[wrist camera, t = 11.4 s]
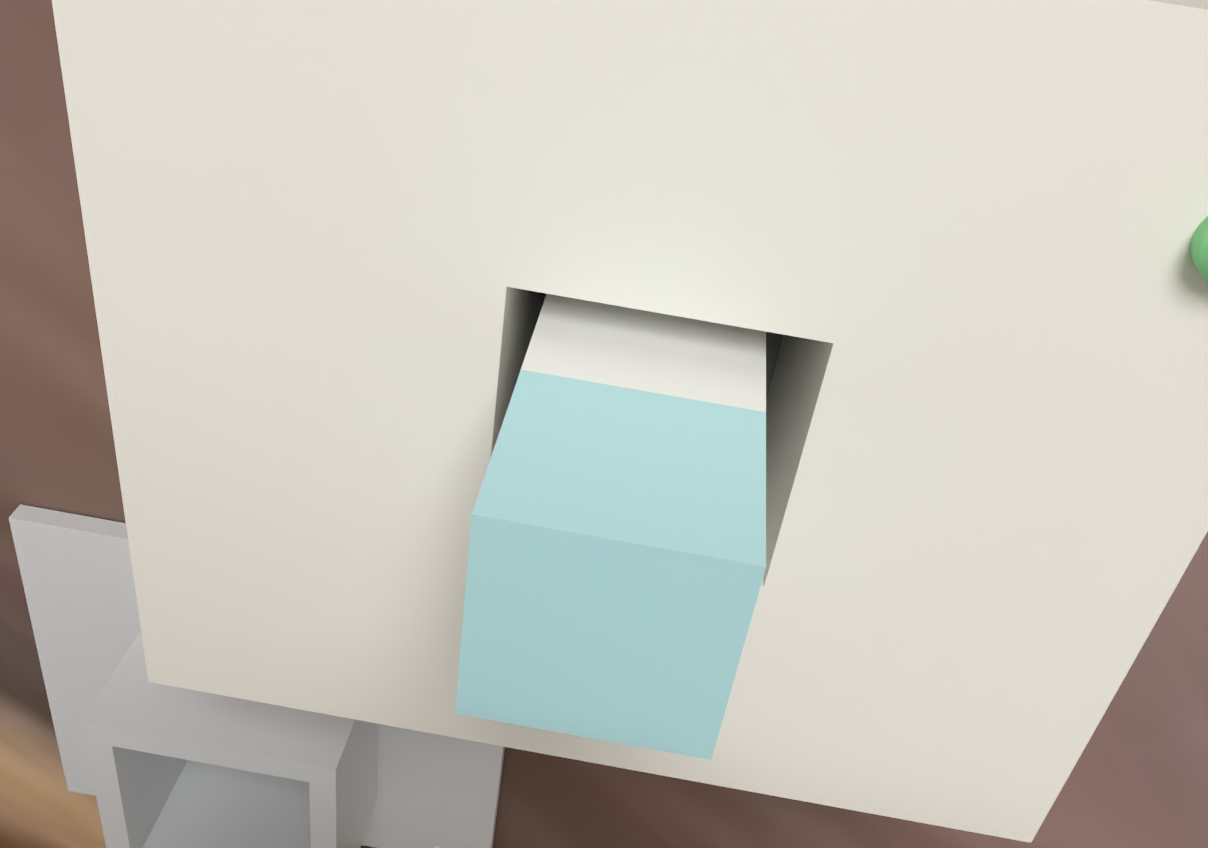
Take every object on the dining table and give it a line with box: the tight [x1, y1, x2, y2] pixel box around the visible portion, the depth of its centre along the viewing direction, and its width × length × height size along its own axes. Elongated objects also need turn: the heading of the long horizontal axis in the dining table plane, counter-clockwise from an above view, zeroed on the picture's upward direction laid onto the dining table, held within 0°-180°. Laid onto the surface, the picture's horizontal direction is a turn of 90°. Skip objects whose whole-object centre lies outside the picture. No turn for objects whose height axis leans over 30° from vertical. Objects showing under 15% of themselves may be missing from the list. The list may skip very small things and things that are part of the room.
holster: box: [9, 504, 505, 848], centre depth 28 cm, size 12×10×4 cm
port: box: [52, 0, 1208, 843], centre depth 19 cm, size 16×14×6 cm
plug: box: [455, 294, 766, 760], centre depth 17 cm, size 3×3×9 cm
